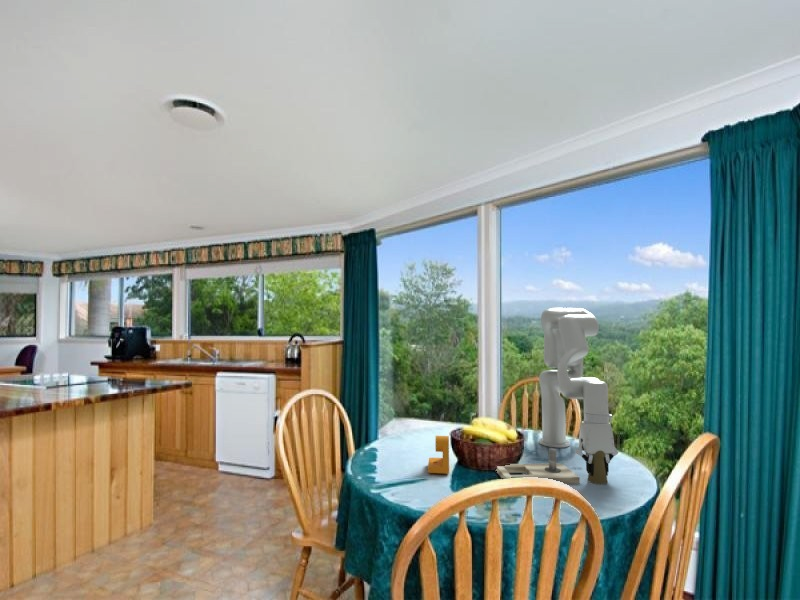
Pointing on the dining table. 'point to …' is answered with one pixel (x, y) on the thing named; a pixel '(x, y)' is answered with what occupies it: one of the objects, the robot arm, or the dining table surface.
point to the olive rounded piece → (598, 469)
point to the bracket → (440, 463)
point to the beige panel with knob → (541, 470)
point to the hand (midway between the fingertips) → (597, 473)
